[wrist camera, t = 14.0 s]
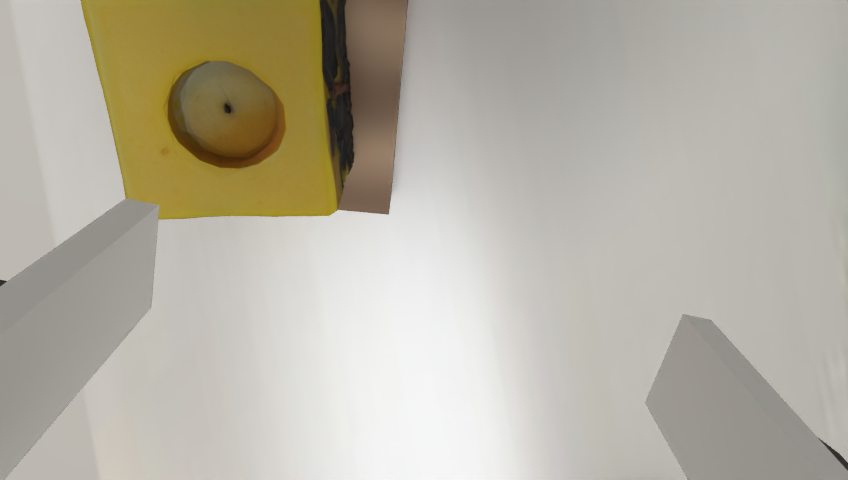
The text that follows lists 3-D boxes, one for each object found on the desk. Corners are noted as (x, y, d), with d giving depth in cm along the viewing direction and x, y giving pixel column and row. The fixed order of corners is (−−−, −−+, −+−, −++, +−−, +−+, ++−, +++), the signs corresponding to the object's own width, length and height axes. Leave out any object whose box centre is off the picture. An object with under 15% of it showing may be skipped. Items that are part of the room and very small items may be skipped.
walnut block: (165, -69, 38) (130, -78, 33) (411, -41, 39) (411, -46, 34) (175, 171, 43) (146, 192, 39) (391, 191, 44) (388, 214, 39)
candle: (162, -13, 34) (69, -16, 25) (346, -17, 34) (320, -22, 25) (192, 167, 38) (120, 223, 29) (357, 163, 38) (339, 217, 29)
